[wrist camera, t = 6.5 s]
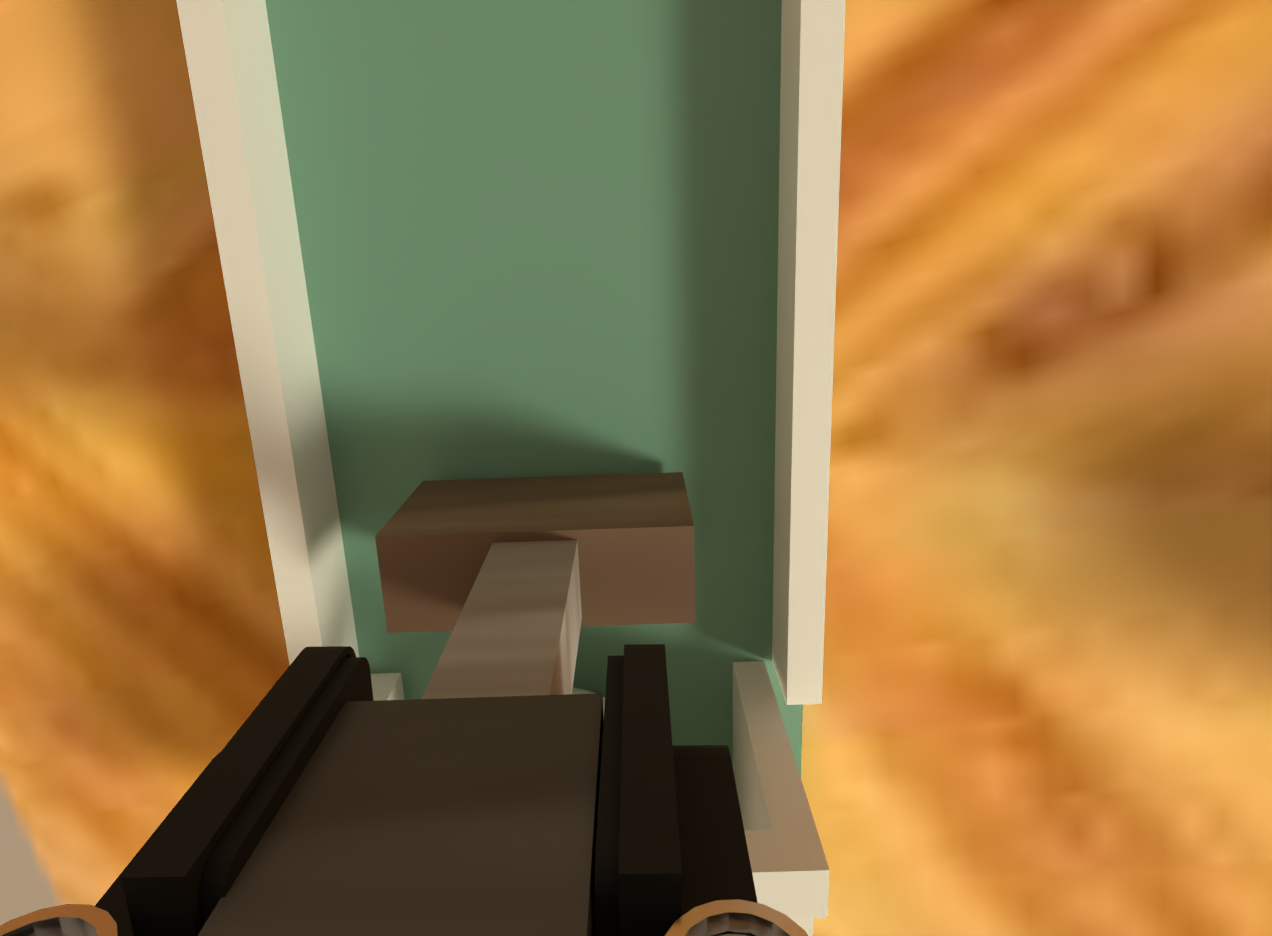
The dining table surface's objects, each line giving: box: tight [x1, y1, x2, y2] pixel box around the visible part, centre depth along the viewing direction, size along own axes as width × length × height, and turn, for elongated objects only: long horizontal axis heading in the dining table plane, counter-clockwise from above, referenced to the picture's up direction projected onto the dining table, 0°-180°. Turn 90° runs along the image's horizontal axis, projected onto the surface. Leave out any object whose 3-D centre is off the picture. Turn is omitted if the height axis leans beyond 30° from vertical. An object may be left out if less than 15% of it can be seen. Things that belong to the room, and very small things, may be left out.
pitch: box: [176, 0, 846, 936], centre depth 16 cm, size 22×12×8 cm, turn 2°
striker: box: [198, 472, 695, 936], centre depth 12 cm, size 2×6×14 cm, turn 92°
